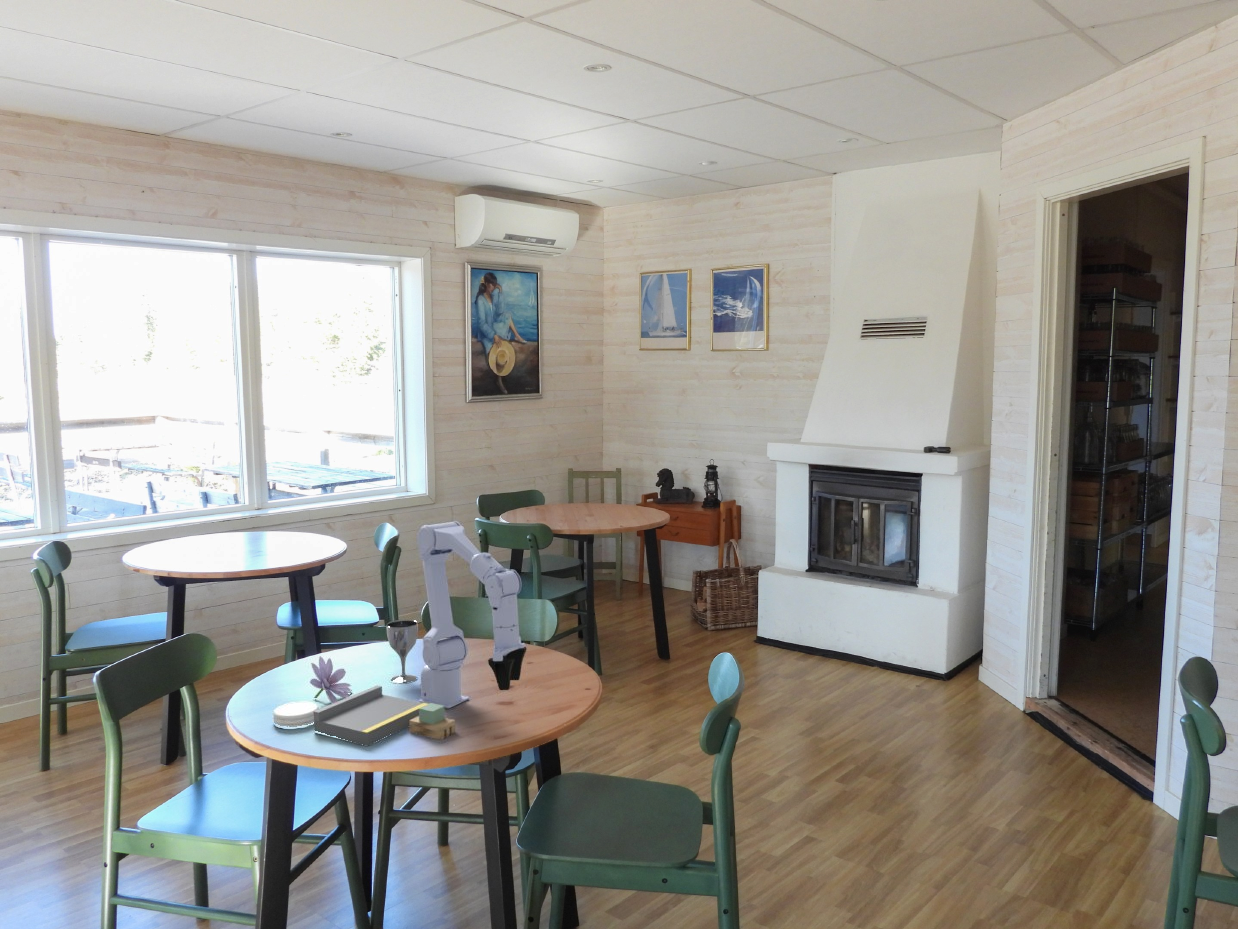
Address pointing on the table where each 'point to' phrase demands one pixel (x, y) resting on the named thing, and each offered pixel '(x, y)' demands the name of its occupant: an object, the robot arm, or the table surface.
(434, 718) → the green block
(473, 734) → the table surface
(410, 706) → the dock
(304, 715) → the white round disc
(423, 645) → the robot arm
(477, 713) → the table surface
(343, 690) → the water lily
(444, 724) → the pallet
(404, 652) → the silver goblet
